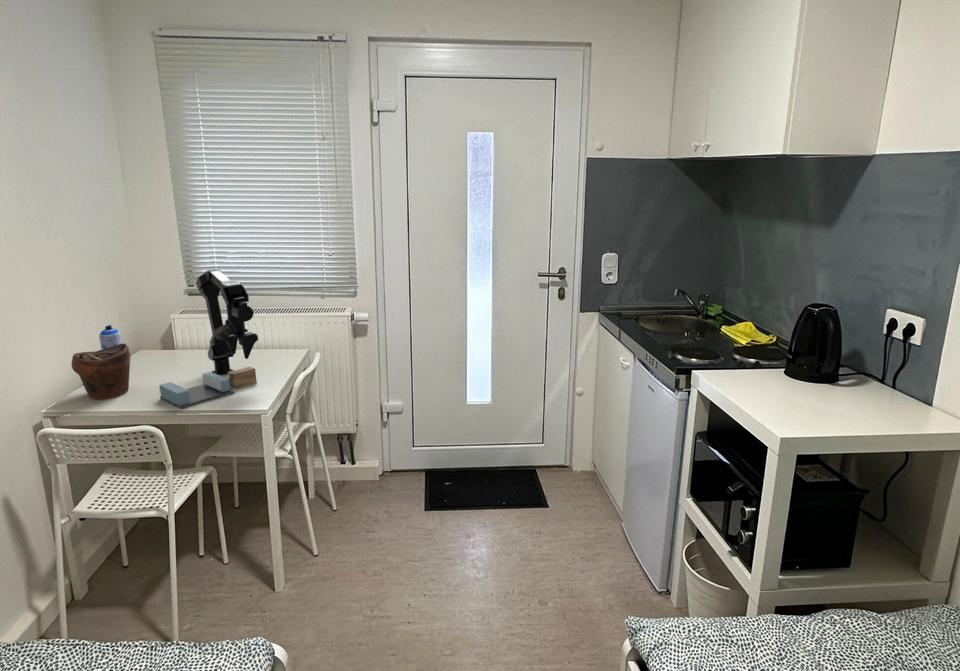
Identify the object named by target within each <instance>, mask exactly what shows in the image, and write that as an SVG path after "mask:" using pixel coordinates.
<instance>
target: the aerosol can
mask: <svg viewBox="0 0 960 671" xmlns="http://www.w3.org/2000/svg"><path fill="white" fill-rule="evenodd" d="M99 342H100V343H99V344H100V350H103V349H106V348H109V347H113V346H117V345H119V344H123V342H122V335H121V332H120V331H119V330H118V329H116V328H114V327H113V326H112V325H111V324H109V325H106V326H105V328H104V329H103V330H102V331H100V333H99Z"/></svg>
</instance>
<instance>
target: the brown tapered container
mask: <svg viewBox="0 0 960 671" xmlns="http://www.w3.org/2000/svg"><path fill="white" fill-rule="evenodd" d="M131 359H132V358H131V351H130V349H129V345H127V343H125V342H124V343H123V342H122V344H119V345H117V346H113V347H109V348H106V349H103V350H101V349H99V350H98V351H97V350H96V351H95V350H94V351H84V352H83V351H82V352H75V353H73V355H72V358H71V368H72V371H73V372H75V373H76V374H77V375H78V376H79V378H80V380H81V383H82V385H83V387H84V390H85V392H86V394H87V397H88V398H90V399H93V400H105V399H112V398H115V397H120V396H123V395H124V394H126V393H127V392H128V391H129V386H130V385H129V384H130V369H131V368H130V367H131Z"/></svg>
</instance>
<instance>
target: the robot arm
mask: <svg viewBox="0 0 960 671" xmlns="http://www.w3.org/2000/svg"><path fill="white" fill-rule="evenodd" d="M195 284H196V288H197V289H198V292H199V294H200V295H201V297H203V299H204V300H205V304H206V308H207V316H208V319H209V323H210V328H211V329H210V330H211V334H212V336H211V338H210V340H209V349H208V351H207V357H208V359H209V360H211V361H213V365H214V370H211V372H212V373H214V374H217V375H219V376H222V375H226V374H228V372H231V371H235V370H234V369H232V368H231V366H230V358H234V355H236V353H237V347H238V346H237V345H238V344H239V345H240V346H241V348H242V351H243V356H244V359H246V360H248V359H249V357H250V355H251V351H252V350H253V348H254V345H255V344H256V343H257V341H259V335H258V334H257V333H255V332H252V331H250V332H249V329H248V328H246V324H245V322H249V321H250V320H252V319H253V317H254V310H253V309H252V307H251V306H248V302H250V299H249V297H250V296H249V294H248V292H247V290H246V288H245V287H244V285H243V284H242V283H241V282H239V281H237V280H236V281H235V280H231V279H230V278H229V277H227V276H226V275H225V274H224V273H223V272H222V270H221V269H219V268H214V269H213V268H212V269H208V270H206V271H205V273H203V274H202V275H200V276H198V278H197V280H196V283H195ZM220 294H221V297H222V299H223V301H224V304H225V306H226V314H227V315H226V316H227V319H225V321H224V323H223V316H222V311H221V306H220V303H219V302H220V301H219V295H220Z"/></svg>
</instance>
